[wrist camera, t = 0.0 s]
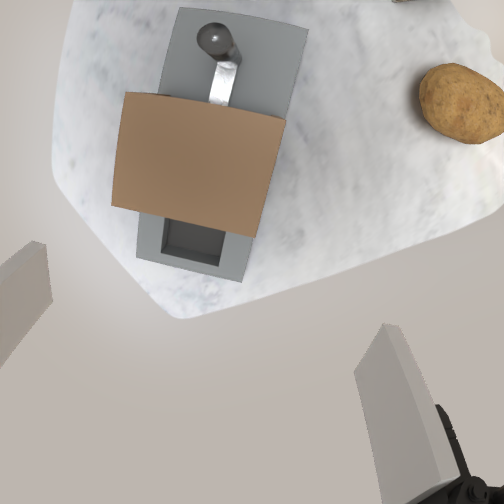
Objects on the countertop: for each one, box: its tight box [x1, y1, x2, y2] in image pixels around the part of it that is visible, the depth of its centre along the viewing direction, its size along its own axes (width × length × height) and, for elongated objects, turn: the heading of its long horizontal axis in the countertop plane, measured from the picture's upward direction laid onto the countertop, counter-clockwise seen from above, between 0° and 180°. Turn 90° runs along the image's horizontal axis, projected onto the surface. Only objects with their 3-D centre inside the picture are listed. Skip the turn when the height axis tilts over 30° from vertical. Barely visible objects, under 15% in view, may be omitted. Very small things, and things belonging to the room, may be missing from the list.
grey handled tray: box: [196, 22, 242, 106], centre depth 26 cm, size 16×10×11 cm, turn 167°
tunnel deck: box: [111, 7, 309, 283], centre depth 29 cm, size 31×14×12 cm, turn 167°
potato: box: [419, 63, 504, 144], centre depth 27 cm, size 10×14×8 cm
